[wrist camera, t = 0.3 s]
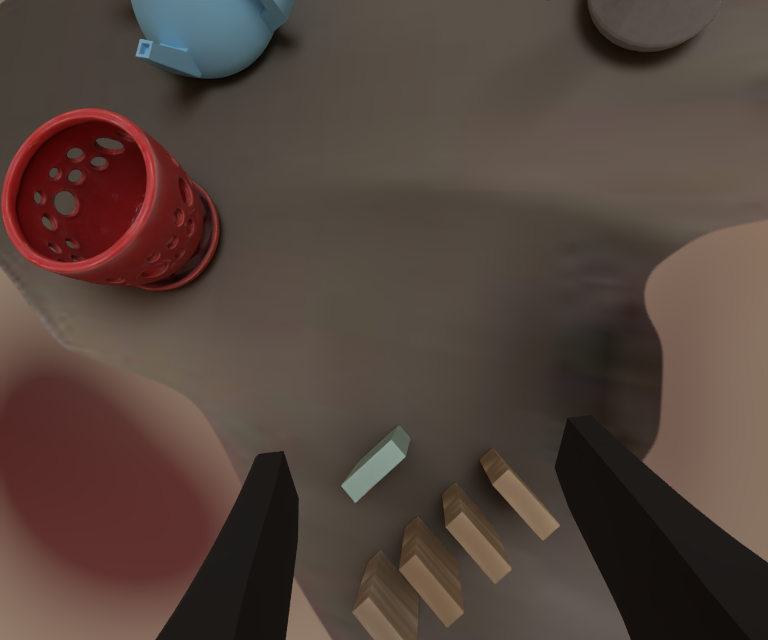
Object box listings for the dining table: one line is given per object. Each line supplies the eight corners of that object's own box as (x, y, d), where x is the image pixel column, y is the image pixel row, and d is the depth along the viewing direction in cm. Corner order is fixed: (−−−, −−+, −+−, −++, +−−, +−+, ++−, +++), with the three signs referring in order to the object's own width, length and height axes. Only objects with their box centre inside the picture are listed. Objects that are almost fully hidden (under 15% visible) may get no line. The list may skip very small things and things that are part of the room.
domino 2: (418, 515, 39) (415, 554, 31) (456, 561, 38) (464, 612, 30) (404, 527, 39) (398, 569, 31) (443, 573, 38) (447, 628, 30)
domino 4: (492, 447, 39) (508, 469, 31) (532, 491, 38) (559, 525, 30) (479, 459, 39) (492, 484, 31) (519, 504, 38) (542, 541, 30)
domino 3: (455, 481, 39) (462, 511, 31) (494, 526, 38) (512, 569, 30) (442, 493, 39) (445, 526, 31) (481, 538, 38) (495, 584, 30)
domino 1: (380, 549, 39) (368, 597, 31) (419, 595, 38) (416, 656, 30) (367, 561, 39) (352, 612, 31) (405, 607, 38) (399, 671, 30)
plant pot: (242, 180, 44) (173, 111, 32) (216, 307, 43) (135, 286, 31) (123, 165, 45) (16, 95, 34) (96, 288, 44) (-26, 261, 32)
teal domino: (410, 438, 40) (405, 456, 32) (370, 475, 40) (355, 503, 32) (398, 424, 40) (391, 439, 32) (358, 461, 40) (340, 485, 32)
